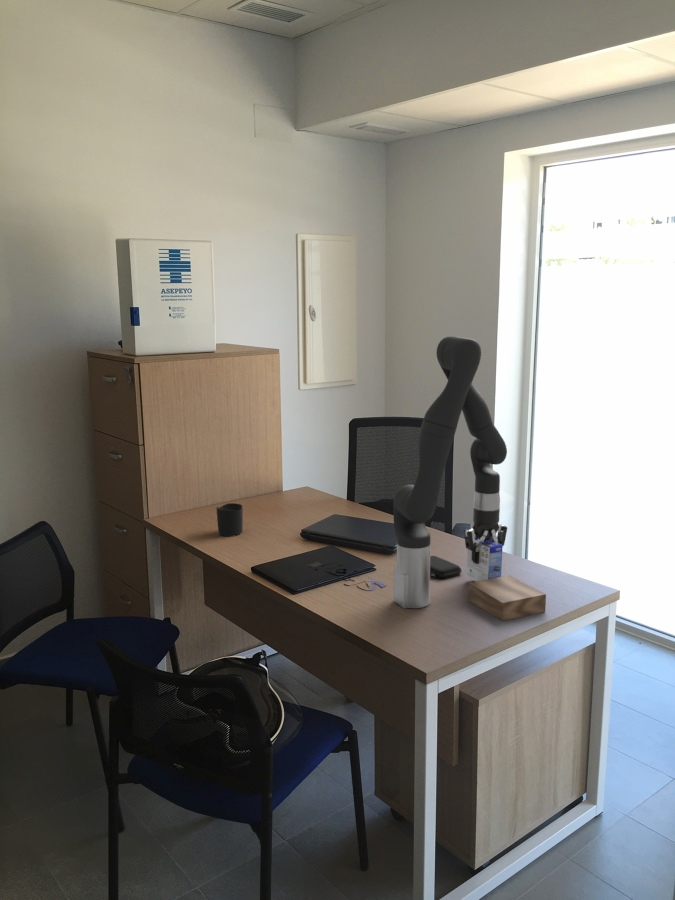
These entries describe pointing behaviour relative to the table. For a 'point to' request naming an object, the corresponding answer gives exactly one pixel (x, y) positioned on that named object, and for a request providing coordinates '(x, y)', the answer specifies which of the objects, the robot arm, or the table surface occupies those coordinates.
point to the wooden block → (507, 597)
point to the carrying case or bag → (443, 568)
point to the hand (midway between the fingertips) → (484, 561)
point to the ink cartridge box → (485, 562)
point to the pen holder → (230, 519)
